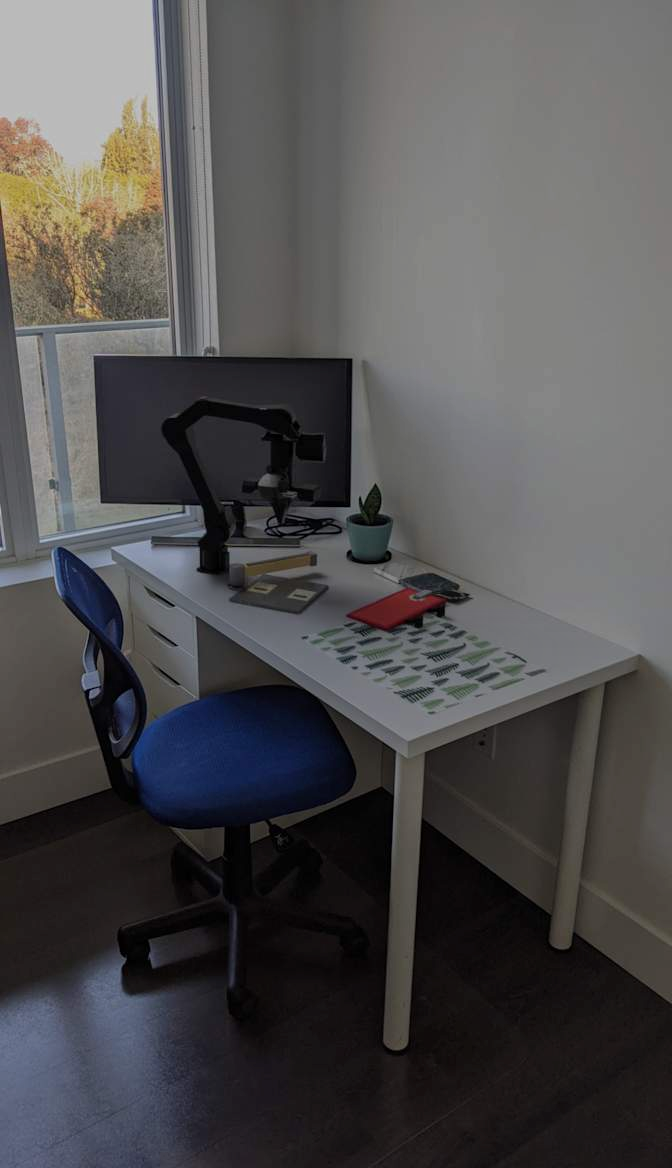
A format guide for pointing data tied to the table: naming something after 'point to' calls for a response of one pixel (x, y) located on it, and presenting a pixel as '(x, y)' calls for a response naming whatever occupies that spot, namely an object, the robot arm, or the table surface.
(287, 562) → the swing arm
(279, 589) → the panel
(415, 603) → the red board with handle
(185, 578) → the table surface
